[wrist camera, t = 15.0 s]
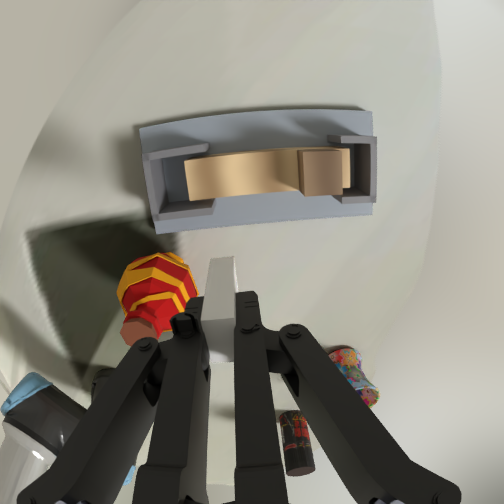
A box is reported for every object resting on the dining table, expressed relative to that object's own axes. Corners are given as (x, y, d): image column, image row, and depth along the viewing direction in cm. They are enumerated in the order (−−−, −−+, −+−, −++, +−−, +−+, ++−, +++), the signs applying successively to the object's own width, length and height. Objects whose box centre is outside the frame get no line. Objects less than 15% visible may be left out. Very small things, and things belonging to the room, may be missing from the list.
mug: (340, 337, 47) (358, 381, 37) (370, 353, 49) (389, 393, 39) (296, 376, 50) (305, 420, 41) (328, 389, 53) (340, 429, 43)
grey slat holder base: (159, 230, 37) (145, 249, 31) (143, 128, 32) (123, 129, 26) (367, 211, 37) (388, 227, 31) (367, 111, 32) (390, 110, 26)
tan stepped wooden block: (195, 193, 34) (184, 208, 28) (190, 157, 32) (178, 164, 26) (338, 181, 34) (360, 193, 28) (337, 146, 32) (359, 151, 26)
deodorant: (305, 420, 58) (315, 473, 44) (281, 424, 58) (287, 477, 44) (304, 408, 55) (315, 464, 42) (278, 413, 56) (284, 470, 42)
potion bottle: (172, 221, 37) (135, 275, 23) (217, 277, 41) (208, 350, 27) (121, 260, 39) (76, 321, 25) (165, 309, 43) (141, 380, 29)
